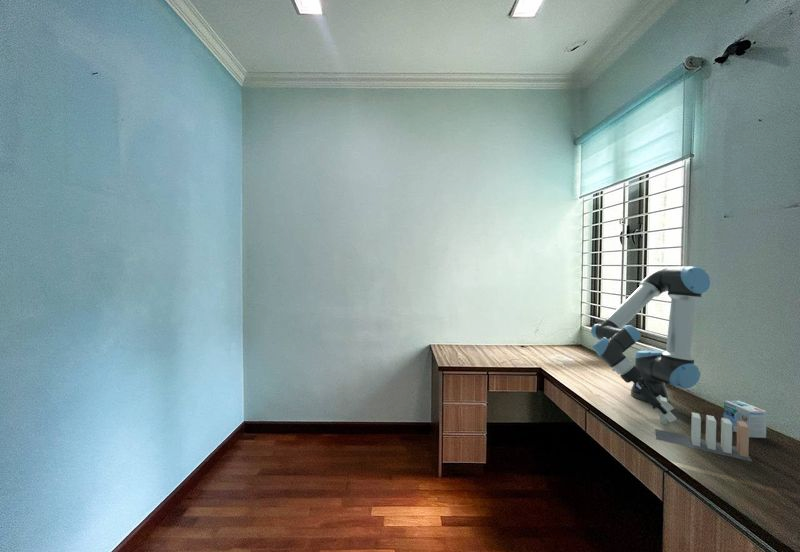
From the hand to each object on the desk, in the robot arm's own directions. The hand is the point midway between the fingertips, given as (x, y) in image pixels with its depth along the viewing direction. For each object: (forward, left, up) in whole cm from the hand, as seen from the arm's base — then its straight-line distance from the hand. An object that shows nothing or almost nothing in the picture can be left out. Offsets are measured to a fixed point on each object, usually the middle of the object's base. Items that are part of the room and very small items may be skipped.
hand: (672, 415), depth 137 cm
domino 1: (0, -3, -4) cm, 5 cm away
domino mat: (+15, +7, -4) cm, 17 cm away
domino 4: (+15, +14, -3) cm, 21 cm away
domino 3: (+15, +10, -3) cm, 18 cm away
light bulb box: (-8, +22, -5) cm, 24 cm away
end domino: (+15, +18, -3) cm, 23 cm away
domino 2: (+15, +6, -3) cm, 16 cm away
